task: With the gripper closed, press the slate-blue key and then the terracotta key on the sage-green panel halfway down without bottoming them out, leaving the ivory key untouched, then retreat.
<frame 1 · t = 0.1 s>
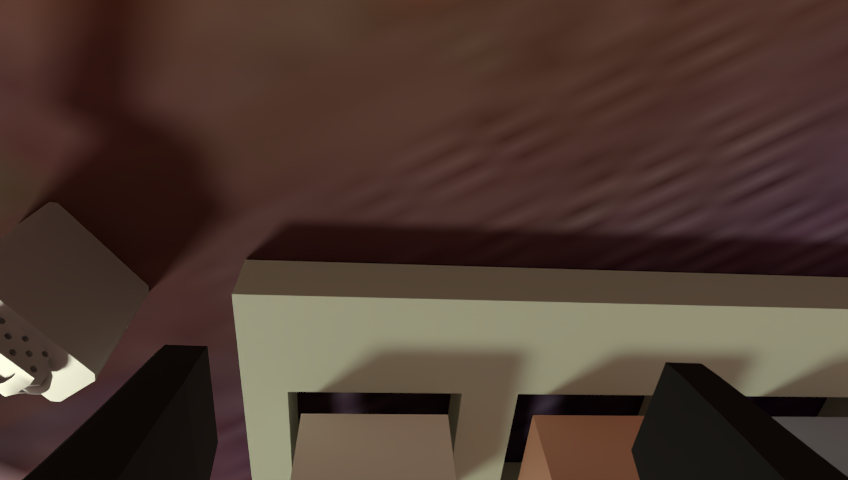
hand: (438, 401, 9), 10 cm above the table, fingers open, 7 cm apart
panel: (568, 413, 24), on the table
lighter: (52, 223, 19), on the table
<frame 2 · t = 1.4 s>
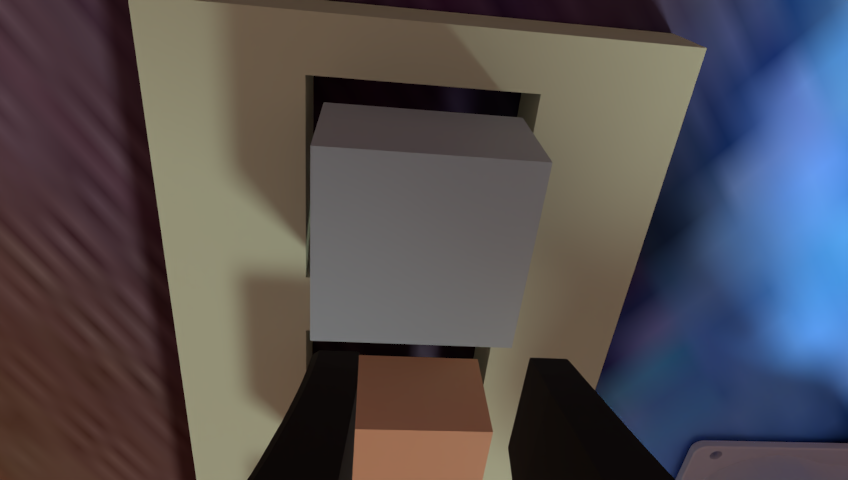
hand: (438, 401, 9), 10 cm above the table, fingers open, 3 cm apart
key terracotta: (395, 449, 18), point 4 cm above the table, slide at 0.0 cm
panel: (393, 363, 22), on the table
key slate: (418, 226, 14), point 4 cm above the table, slide at 0.0 cm
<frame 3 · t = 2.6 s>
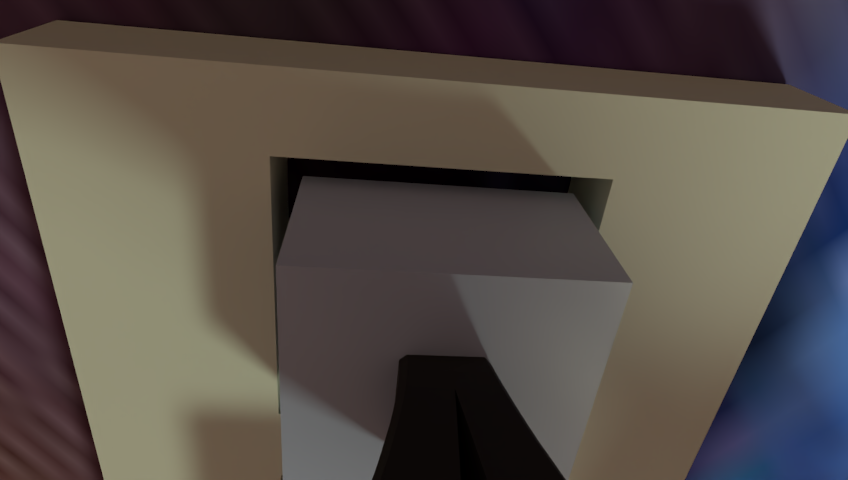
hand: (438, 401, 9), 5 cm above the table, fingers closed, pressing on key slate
key slate: (433, 344, 11), point 3 cm above the table, slide at 0.9 cm, touching gripper
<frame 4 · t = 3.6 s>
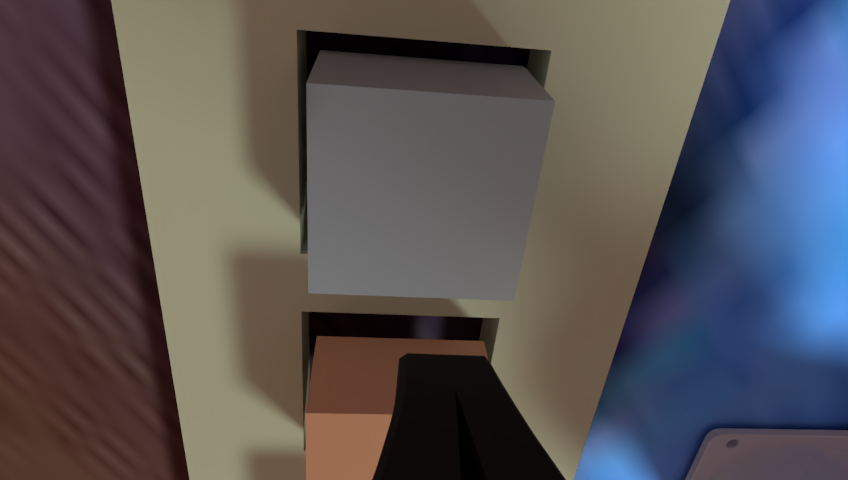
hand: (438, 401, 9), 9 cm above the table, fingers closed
key terracotta: (397, 436, 17), point 4 cm above the table, slide at 0.0 cm
panel: (394, 348, 21), on the table
key slate: (418, 177, 14), point 3 cm above the table, slide at 0.9 cm
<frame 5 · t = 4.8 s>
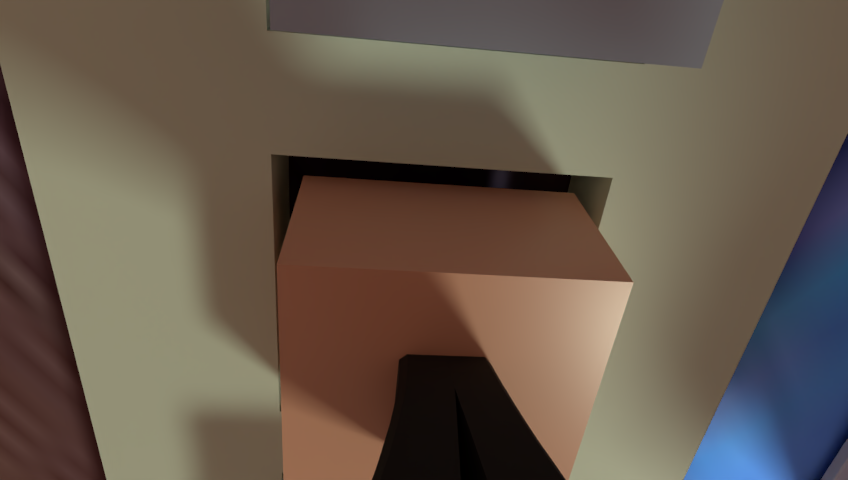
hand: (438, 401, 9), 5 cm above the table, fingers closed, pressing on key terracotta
key terracotta: (433, 344, 11), point 3 cm above the table, slide at 0.9 cm, touching gripper
panel: (423, 254, 13), on the table
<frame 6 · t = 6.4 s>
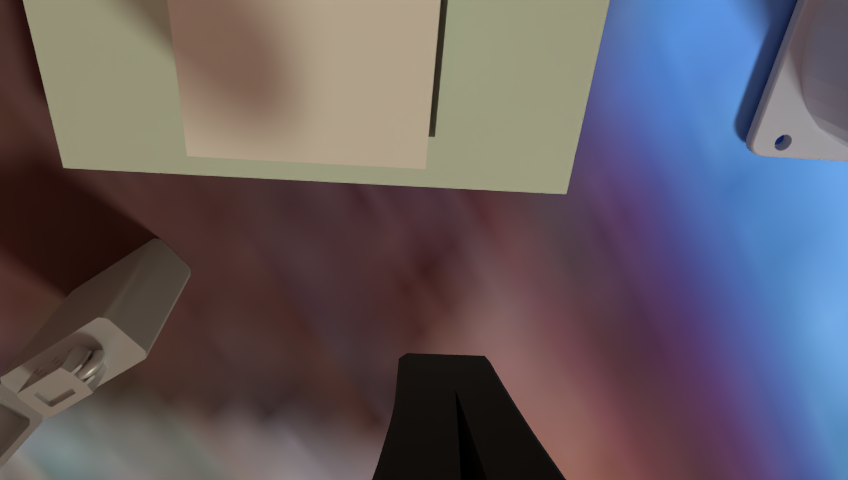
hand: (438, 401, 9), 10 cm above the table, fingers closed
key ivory: (314, 26, 12), point 4 cm above the table, slide at 0.0 cm
lighter: (102, 299, 21), on the table
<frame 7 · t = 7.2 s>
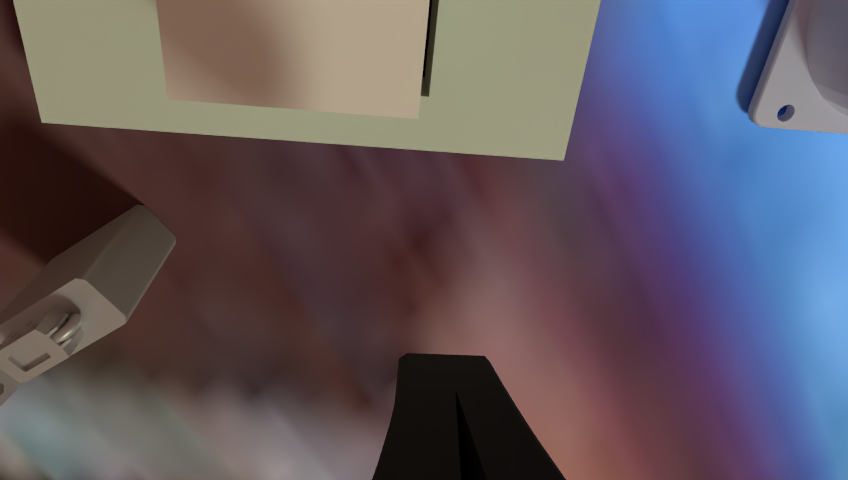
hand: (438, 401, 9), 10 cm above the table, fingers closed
lighter: (84, 268, 20), on the table
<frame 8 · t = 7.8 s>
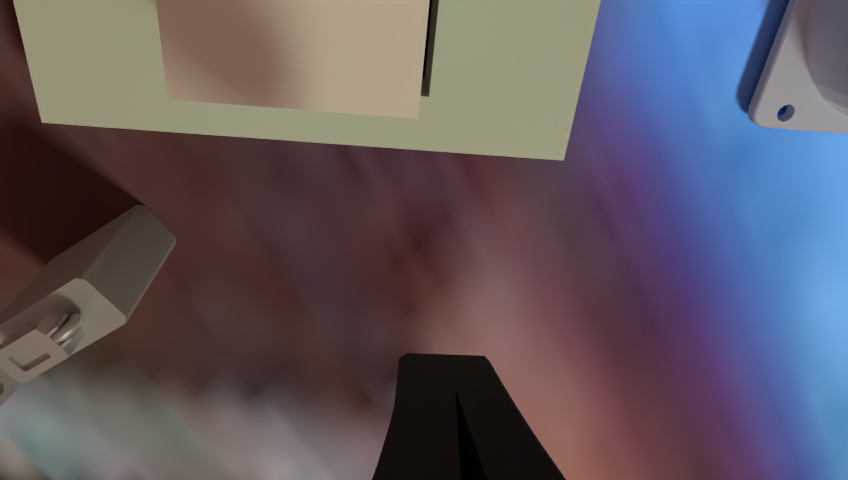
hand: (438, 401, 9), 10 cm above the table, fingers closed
lighter: (84, 268, 20), on the table
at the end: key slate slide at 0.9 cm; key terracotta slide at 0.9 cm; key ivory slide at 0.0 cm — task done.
